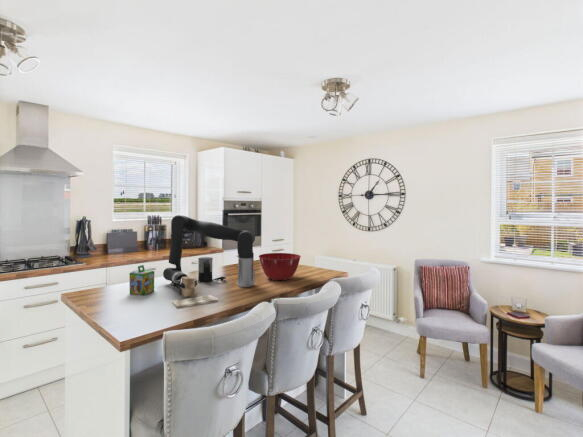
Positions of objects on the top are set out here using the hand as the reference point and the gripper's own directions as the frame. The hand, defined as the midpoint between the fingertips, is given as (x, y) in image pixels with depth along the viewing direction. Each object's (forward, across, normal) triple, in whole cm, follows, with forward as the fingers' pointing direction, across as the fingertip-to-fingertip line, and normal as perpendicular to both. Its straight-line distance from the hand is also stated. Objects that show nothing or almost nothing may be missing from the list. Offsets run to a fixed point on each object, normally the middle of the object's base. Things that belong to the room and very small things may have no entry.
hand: (189, 285), depth 161 cm
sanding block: (-3, 0, +6) cm, 7 cm away
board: (+9, 0, +6) cm, 11 cm away
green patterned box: (-22, -19, +6) cm, 29 cm away
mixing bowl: (-12, +64, +6) cm, 65 cm away
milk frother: (-27, +22, +6) cm, 35 cm away
